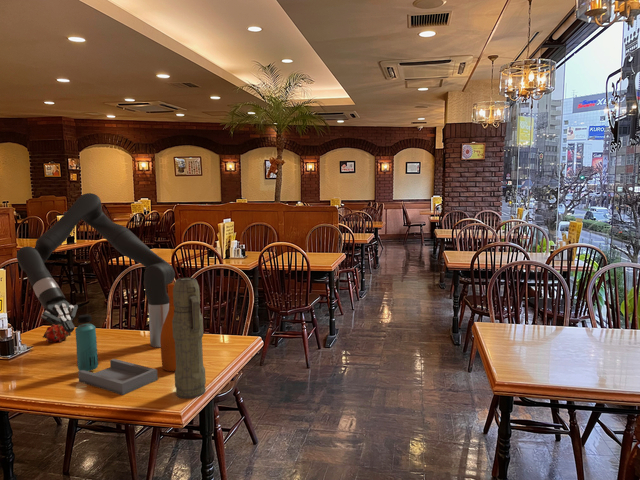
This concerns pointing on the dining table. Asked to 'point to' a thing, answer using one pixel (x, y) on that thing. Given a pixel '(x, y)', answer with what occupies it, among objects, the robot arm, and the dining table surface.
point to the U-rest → (119, 377)
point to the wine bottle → (168, 336)
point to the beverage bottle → (86, 344)
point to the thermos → (188, 339)
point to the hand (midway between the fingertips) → (71, 330)
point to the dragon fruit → (56, 333)
